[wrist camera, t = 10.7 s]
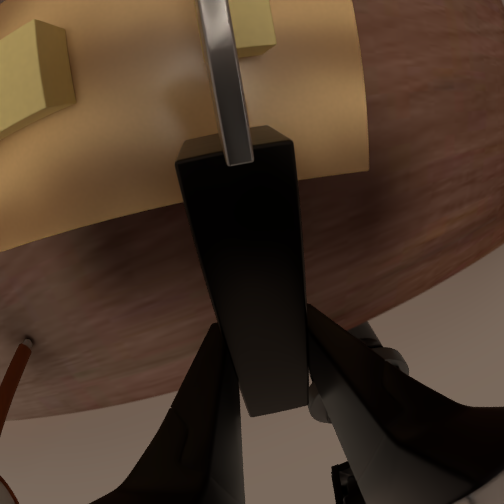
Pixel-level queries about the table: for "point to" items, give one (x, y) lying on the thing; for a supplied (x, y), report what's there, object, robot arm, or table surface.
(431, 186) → the table surface
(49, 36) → the butter block
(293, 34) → the board
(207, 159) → the knife
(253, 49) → the butter slice
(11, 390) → the magnifying glass
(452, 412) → the robot arm
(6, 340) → the table surface
